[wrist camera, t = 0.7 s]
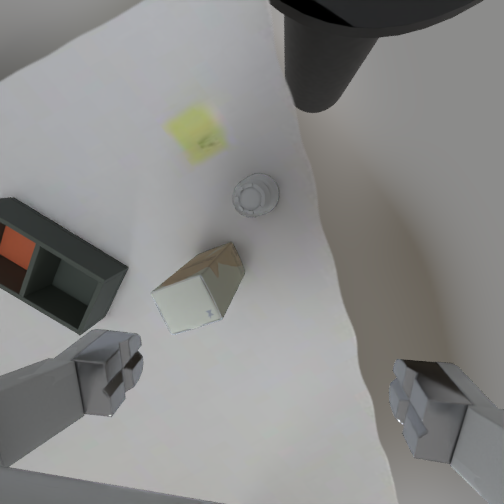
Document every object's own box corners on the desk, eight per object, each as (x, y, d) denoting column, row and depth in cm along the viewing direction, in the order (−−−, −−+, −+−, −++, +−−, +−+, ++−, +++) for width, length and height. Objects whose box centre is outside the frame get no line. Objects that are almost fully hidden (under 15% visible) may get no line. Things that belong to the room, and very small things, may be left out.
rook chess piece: (236, 210, 29) (219, 221, 22) (242, 170, 28) (226, 166, 20) (275, 217, 29) (271, 230, 21) (283, 176, 28) (282, 175, 20)
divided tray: (13, 197, 33) (-28, 200, 28) (128, 267, 33) (105, 280, 29) (-3, 252, 35) (-43, 263, 31) (105, 316, 36) (80, 335, 31)
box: (232, 240, 30) (204, 272, 20) (246, 273, 31) (226, 320, 21) (193, 255, 32) (147, 293, 21) (208, 286, 32) (170, 337, 22)
